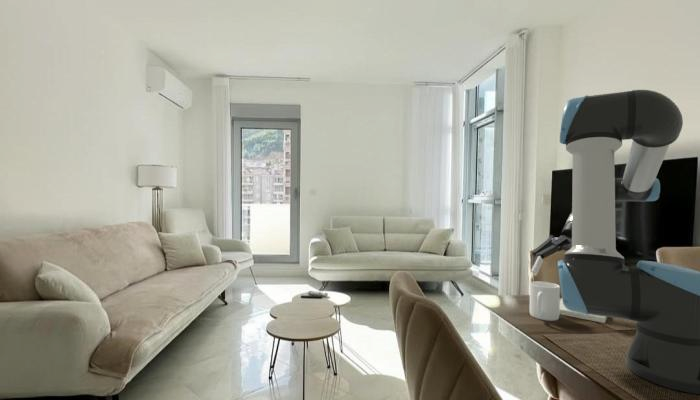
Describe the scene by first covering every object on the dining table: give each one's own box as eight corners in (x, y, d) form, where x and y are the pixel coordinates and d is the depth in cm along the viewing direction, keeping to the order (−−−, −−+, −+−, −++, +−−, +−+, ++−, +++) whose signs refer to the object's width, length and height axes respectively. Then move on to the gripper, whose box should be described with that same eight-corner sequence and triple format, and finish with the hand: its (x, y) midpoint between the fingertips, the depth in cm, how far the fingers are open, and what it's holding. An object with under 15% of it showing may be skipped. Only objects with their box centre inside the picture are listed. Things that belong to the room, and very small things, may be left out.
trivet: (604, 323, 104) (604, 318, 104) (551, 312, 114) (551, 308, 114) (609, 311, 116) (609, 306, 116) (561, 302, 125) (561, 298, 125)
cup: (561, 316, 110) (562, 284, 110) (554, 326, 101) (554, 291, 101) (532, 310, 116) (533, 280, 116) (523, 320, 107) (523, 287, 107)
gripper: (622, 239, 112) (602, 293, 104) (544, 232, 133) (521, 276, 125) (616, 224, 109) (594, 277, 101) (537, 219, 130) (513, 263, 122)
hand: (554, 277), depth 113 cm, fingers open, 13 cm apart
